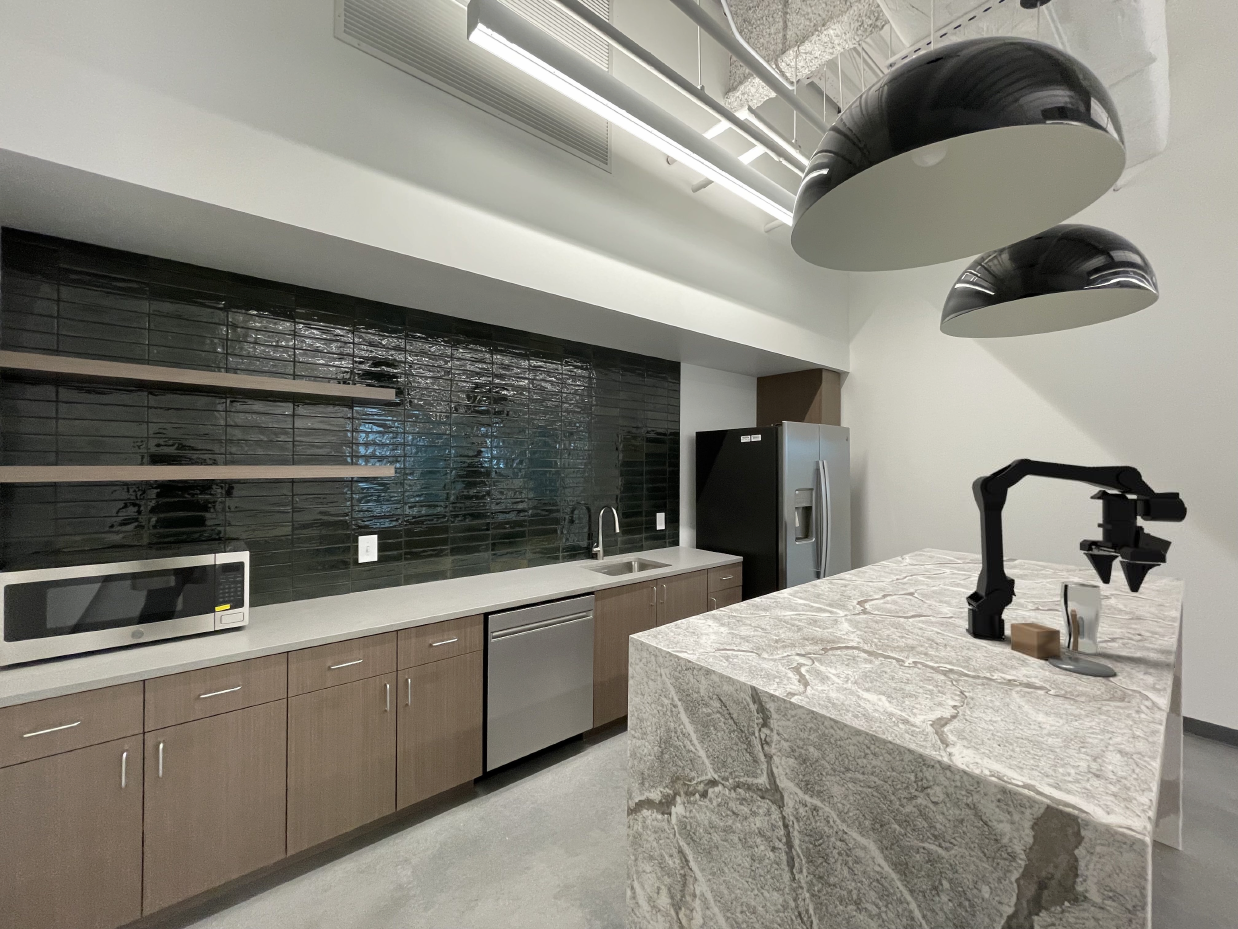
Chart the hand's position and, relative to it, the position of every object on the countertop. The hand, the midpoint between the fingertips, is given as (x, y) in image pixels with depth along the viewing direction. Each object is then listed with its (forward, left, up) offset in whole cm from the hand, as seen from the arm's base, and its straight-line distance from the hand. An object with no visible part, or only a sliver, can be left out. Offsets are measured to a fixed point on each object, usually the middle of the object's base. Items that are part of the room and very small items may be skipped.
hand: (1119, 588), depth 114 cm
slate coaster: (-15, -17, -14) cm, 27 cm away
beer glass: (-9, -4, -14) cm, 17 cm away
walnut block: (-20, -10, -14) cm, 27 cm away
